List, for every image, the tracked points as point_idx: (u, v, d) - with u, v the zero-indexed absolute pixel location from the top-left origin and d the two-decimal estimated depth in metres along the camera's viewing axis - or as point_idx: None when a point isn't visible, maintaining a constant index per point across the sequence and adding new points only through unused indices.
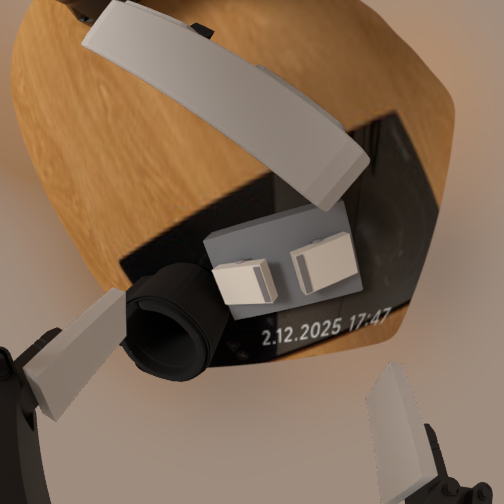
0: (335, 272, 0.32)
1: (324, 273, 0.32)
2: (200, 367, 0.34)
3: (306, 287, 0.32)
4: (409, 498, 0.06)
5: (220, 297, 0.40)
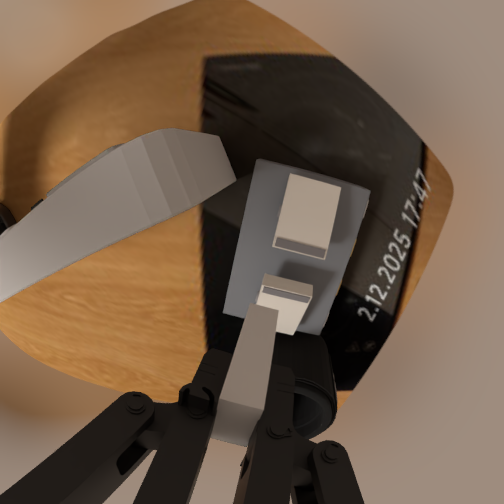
0: (322, 212, 0.26)
1: (315, 225, 0.26)
2: (325, 403, 0.28)
3: (316, 254, 0.26)
4: (250, 437, 0.09)
5: None
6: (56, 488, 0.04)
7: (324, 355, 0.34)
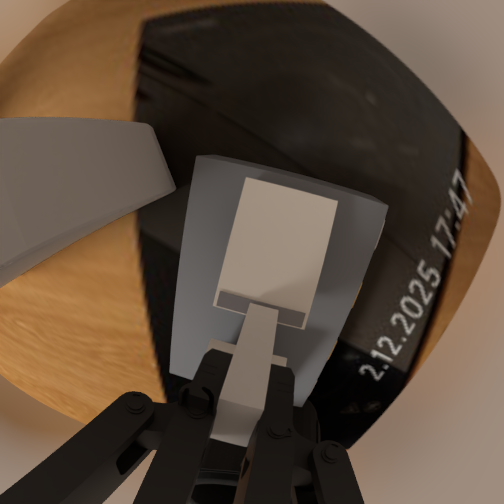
0: (302, 247, 0.15)
1: (289, 270, 0.15)
2: None
3: (288, 321, 0.15)
4: (250, 437, 0.09)
5: None
6: (56, 488, 0.04)
7: (308, 429, 0.23)
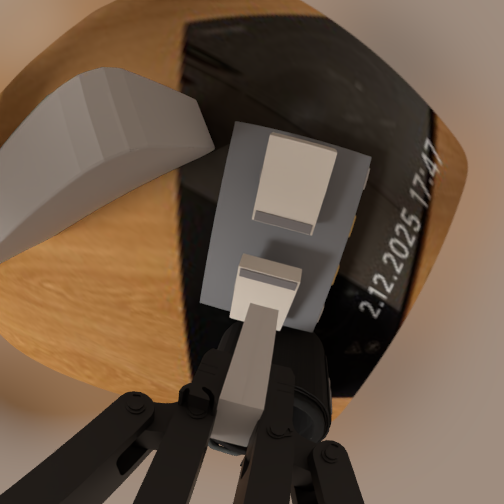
0: (310, 183, 0.21)
1: (302, 198, 0.22)
2: (316, 413, 0.22)
3: (301, 230, 0.23)
4: (250, 437, 0.09)
5: None
6: (56, 488, 0.04)
7: (318, 356, 0.29)
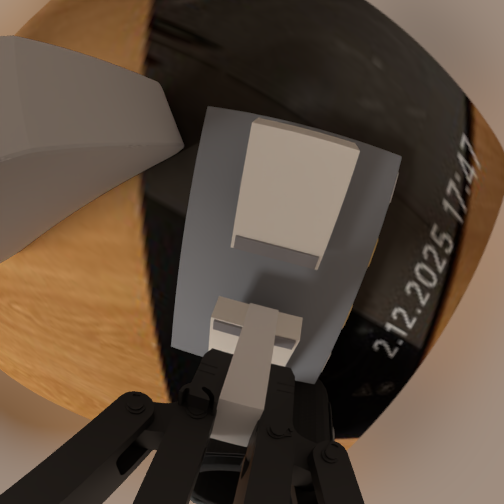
0: (317, 197, 0.13)
1: (304, 219, 0.14)
2: None
3: (302, 263, 0.16)
4: (250, 437, 0.09)
5: None
6: (56, 488, 0.04)
7: (321, 410, 0.21)
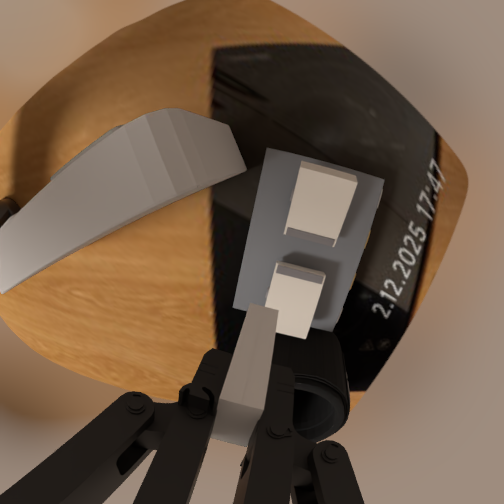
0: (334, 207, 0.24)
1: (326, 218, 0.25)
2: (338, 402, 0.26)
3: (325, 243, 0.27)
4: (250, 437, 0.09)
5: None
6: (56, 488, 0.04)
7: (337, 353, 0.32)
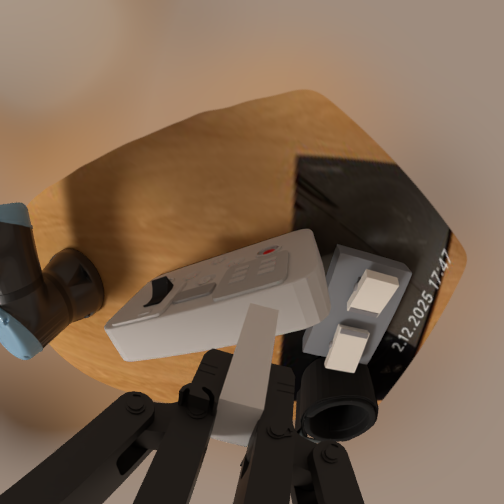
0: (382, 297, 0.37)
1: (376, 303, 0.38)
2: (372, 411, 0.38)
3: (372, 315, 0.39)
4: (250, 437, 0.09)
5: None
6: (56, 488, 0.04)
7: (369, 377, 0.45)
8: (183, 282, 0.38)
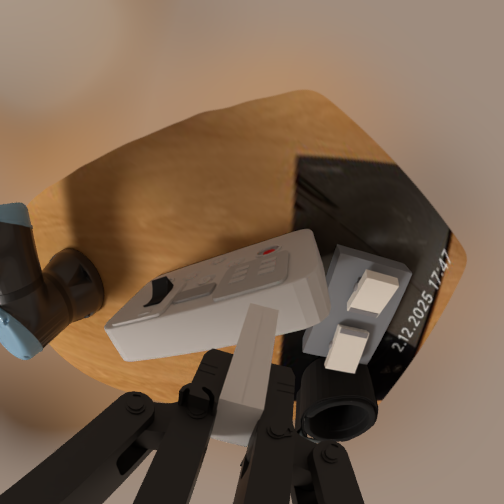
0: (382, 297, 0.37)
1: (376, 303, 0.38)
2: (372, 411, 0.38)
3: (372, 315, 0.39)
4: (250, 437, 0.09)
5: None
6: (56, 488, 0.04)
7: (369, 377, 0.45)
8: (183, 282, 0.38)
